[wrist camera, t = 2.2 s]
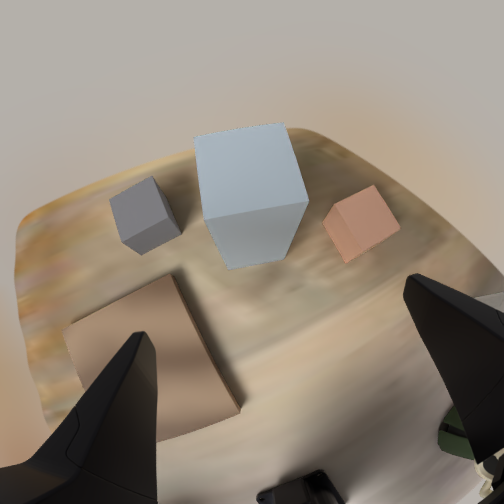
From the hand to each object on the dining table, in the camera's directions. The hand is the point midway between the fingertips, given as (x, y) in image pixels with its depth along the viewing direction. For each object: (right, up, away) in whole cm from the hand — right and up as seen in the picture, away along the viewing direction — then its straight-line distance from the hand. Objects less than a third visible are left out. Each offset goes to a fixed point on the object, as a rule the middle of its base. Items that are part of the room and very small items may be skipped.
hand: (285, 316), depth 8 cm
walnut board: (-10, -8, +11) cm, 17 cm away
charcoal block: (-10, +4, +15) cm, 18 cm away
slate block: (-1, +3, +14) cm, 15 cm away
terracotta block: (+8, +4, +14) cm, 17 cm away
